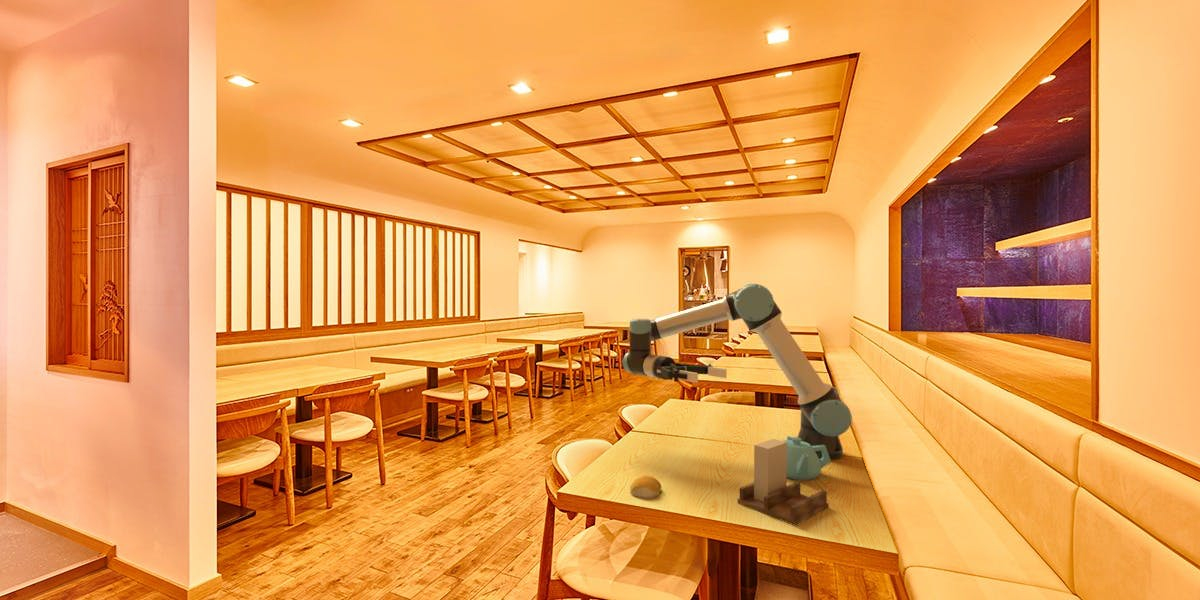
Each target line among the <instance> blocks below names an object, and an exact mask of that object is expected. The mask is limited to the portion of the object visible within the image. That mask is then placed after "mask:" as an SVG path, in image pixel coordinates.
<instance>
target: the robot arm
mask: <svg viewBox="0 0 1200 600" xmlns="http://www.w3.org/2000/svg"><path fill="white" fill-rule="evenodd" d="M782 314H783V312H782V310H781V309H780V308H779V306H778V304H777V303H776V301H775V300H774V297H773V294H772V293H771V291H770V290H769V289H768V288H767V287H765V286H764V285H762V284H758V283H749V284H746V285H744V286H742V287H741V288H739V289H737V290H735V291H733V292H731V293H728V294H725V295H723V296H722V298H720V299H717V300H714V301H711V302H708V303H704V304H701V305H697V306H694V307H691V308H688V309H685V310H681V311H678V312H675V313H671V314H668V315H665V316H662V317H658V318H655V319H648V318H632V319H630V320H629V327H628V330H629V350H628V352H627V353H625V355H623V359H622V367H623V369H624V370H625V371H626V372H627V373H631V374H633V375H638V376H645V377H650V378H652V380H655V379H659V380H666V381H667V380H670V381H672V380H673V381H674V382H676V383H678V382H679V380H681V381H686V382H690V383H696V384H698V382H699V375H707V376H711V377H718V378H723V379H727V368H723V367H717V366H716V367H715V366H713V365H712V364H711V363H709V364H708V365H706V364H705V365H704V364H691V363H685V362H684V363H680V362H675V360H674V359H673V358H672V357H670V356H664V355H661V354H660V355H659V354H653V353H651V352H652V347H651V346H652V342H655V341H657V340H660V339H663V338H664V339H665V338H667V337H670V336H675V335H679V334H681V333H685V332H688V331H692V330H696V329H699V328H701V327H702V328H703V327H706V326H709V325H712V324H717V323H719V322H724V321H726V320H729V321H731V322H734V321H737V320H741V319H742V320H743V322H744V324H745V325H746V327H747V328H748V329H749V331H750V332H753V333H756V334H757V335H758V336H759V338H760V339H761V341H762V342H763V344H764V345H765V347H766V349H767V350H768V352H769V353H770V355H771V356H772V358H773V359H774V361H775V362H776V363H777V365H778V367H779V368H780V370H781V371H782V373H783V374H784V375H785V377H786V379H787V380H788V382H789V383H790V385H791V387H792V388H793V389H794V391H795V393H796V394H797V396H798V398H797V404H798V406H799V407H800V429H799V431H798V435H797V437H798V438H801V441H803V442H807V443H809V444H810V445H811V446H817V445H825V446H826V449H827V452H828V454H829V457H830V460H837V459H838V458H839V459H841V458H843V457H844V448H843V445H842V441H841V439H840V436H841V435H842V434H844V433H846V432H847V431H848V430H849V429H850V427H851V425H852V421H853V418H852V412H851V409H850V408H849V406H848V405H847V404H846V403H844V402H843V401H842V399H841V398H840V396H839V390H838V388H837V387H834V386H833V385H832V384H829V383H825V382H824V381H823V380H822V379H821V377H820V375H819V374H818V373H817V371H816V369H815V368H814V366H813V365H812V364H811V362H810V361H809V359H808V358H807V357H806V355H805V353H804V351H803V350H802V349H801V347H800V345H799V344H798V342H797V341H796V340H795V338H794V337H793V336H792V334H791V332H790V331H789V329H788V328H787V327H786V325H785V324H784V322H783V320H782ZM815 452H816V454H817V456H818V458H819V459H821V458H822V457H823V456H822V452H821V450H820V451H815ZM842 456H843V457H842Z"/></svg>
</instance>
